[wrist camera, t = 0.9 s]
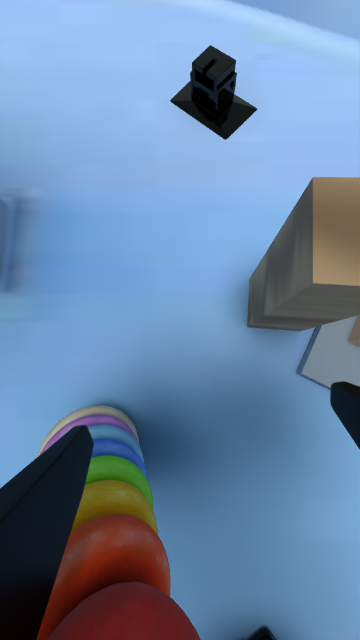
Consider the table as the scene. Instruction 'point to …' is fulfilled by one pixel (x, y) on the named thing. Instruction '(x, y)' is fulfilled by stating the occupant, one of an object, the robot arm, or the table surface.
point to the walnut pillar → (311, 261)
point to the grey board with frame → (333, 353)
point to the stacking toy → (112, 546)
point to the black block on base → (214, 94)
